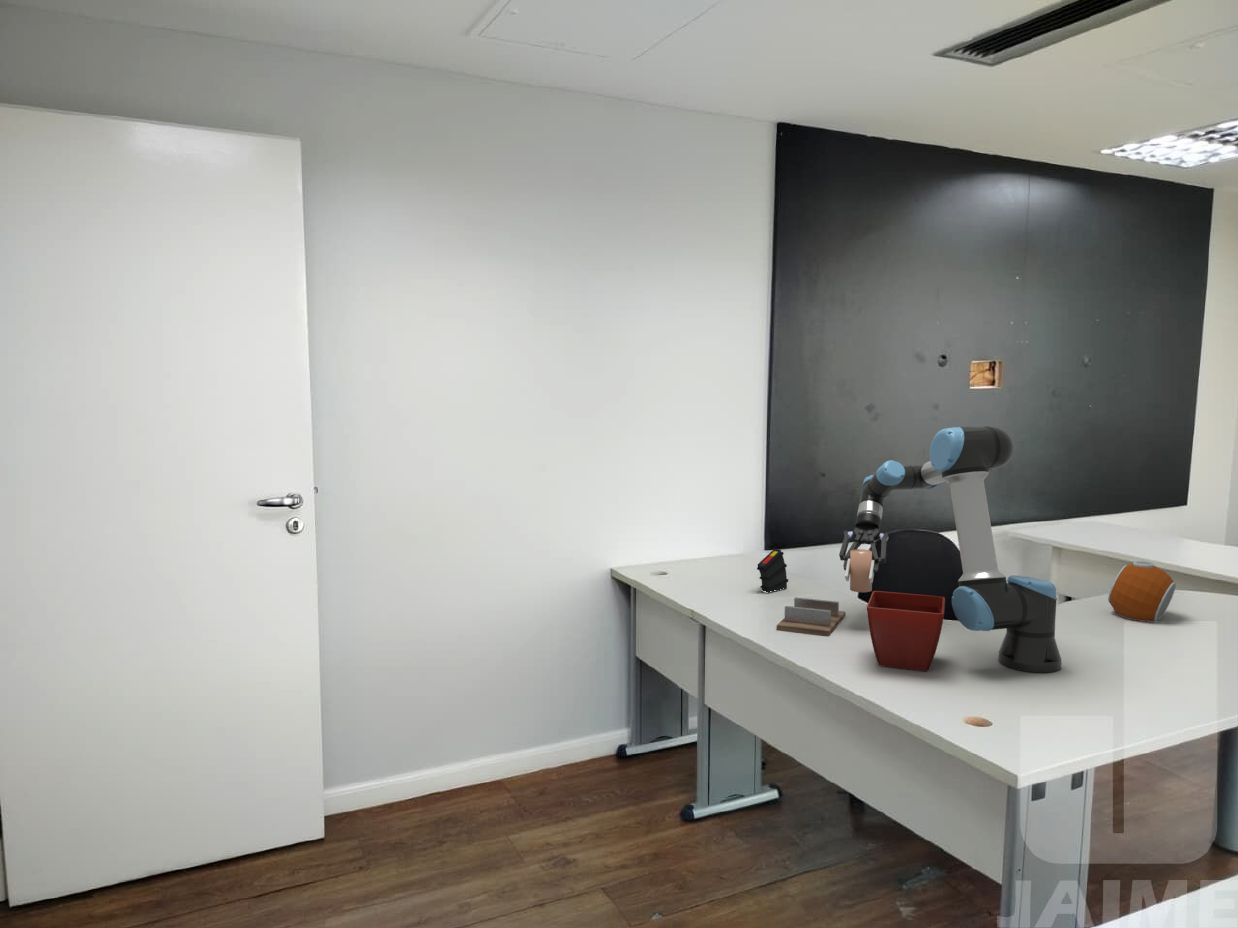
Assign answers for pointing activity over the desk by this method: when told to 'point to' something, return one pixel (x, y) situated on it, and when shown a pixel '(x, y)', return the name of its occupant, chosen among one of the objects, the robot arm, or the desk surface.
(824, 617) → the rack
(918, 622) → the plant pot
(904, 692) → the desk surface
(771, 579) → the magazine
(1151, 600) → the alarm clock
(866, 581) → the peach pillar candle
